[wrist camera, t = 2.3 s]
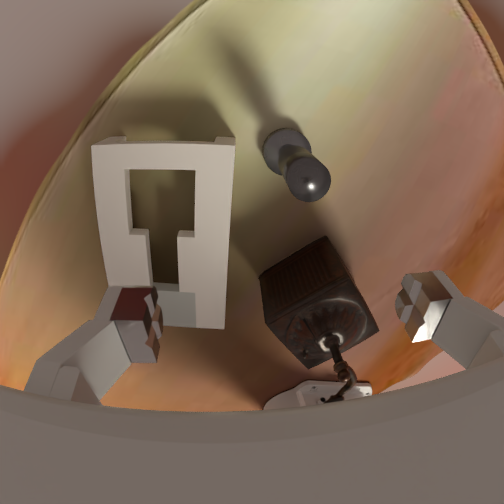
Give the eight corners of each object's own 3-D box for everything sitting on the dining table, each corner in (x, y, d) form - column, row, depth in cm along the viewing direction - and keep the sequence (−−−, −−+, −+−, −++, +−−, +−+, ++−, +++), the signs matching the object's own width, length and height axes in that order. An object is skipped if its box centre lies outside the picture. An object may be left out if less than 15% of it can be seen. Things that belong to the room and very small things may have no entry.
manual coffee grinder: (251, 277, 40) (263, 396, 24) (326, 232, 37) (382, 338, 22) (308, 342, 47) (332, 443, 31) (370, 308, 44) (416, 404, 28)
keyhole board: (235, 137, 31) (235, 145, 27) (225, 303, 42) (224, 329, 37) (109, 136, 30) (91, 145, 25) (126, 297, 41) (116, 321, 36)
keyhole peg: (311, 131, 31) (347, 153, 21) (305, 174, 33) (335, 215, 23) (265, 126, 30) (280, 144, 21) (260, 170, 33) (272, 210, 23)
